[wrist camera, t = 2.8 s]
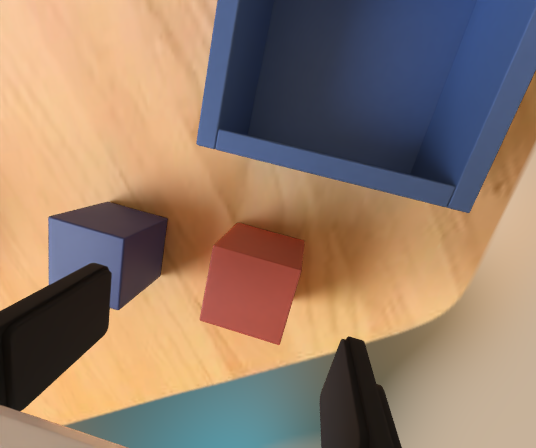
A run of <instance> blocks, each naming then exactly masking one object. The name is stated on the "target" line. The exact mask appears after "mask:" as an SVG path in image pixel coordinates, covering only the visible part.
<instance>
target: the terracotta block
mask: <svg viewBox="0 0 536 448" xmlns="http://www.w3.org/2000/svg"><path fill="white" fill-rule="evenodd" d="M304 242H305V241H303V240H300V239H296V238H292V237H289V236H285V235H281V234H278V233H274V232H270V231H267V230H263V229H260V228H256V227H252V226H249V225H245V224H241V223H236V224H235V225H234V226H233V227H232V228H231V229H230V230H229V231H228V232H227V233H226V234H225V235H224V236H223V237H222V238H221V239H220V240H219V241H218V242H216V243H215V244H214V245H213V250H212V256H211V261H210V266H209V272H208V277H207V283H206V288H205V293H204V299H203V304H202V309H201V315H200V321H204V322H207V323H210V324H213V325H216V326H220V327H223V328H226V329H229V330H232V331H236V332H239V333H242V334H245V335H248V336H252V337H255V338H258V339H261V340H264V341H268V342H271V343H274V344H277V345H280V342H281V338H282V335H283V332H284V328H285V325H286V322H287V318H288V315H289V311H290V308H291V305H292V301H293V298H294V295H295V291H296V288H297V285H298V281H299V278H300V274H301V271H302V262H303V252H304Z"/></svg>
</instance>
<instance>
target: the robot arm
mask: <svg viewBox="0 0 536 448" xmlns="http://www.w3.org/2000/svg"><path fill="white" fill-rule="evenodd" d="M111 279H112V273H111V272H110V271H109V268H108V267H107V266H104V265H101V264H97V263H90V264H88V265H86V266H84V267H82V268H80V269H78V270H77V271H75V272H73V273H71V274H69V275H67V276H65V277H63V278H62V279H60V280H58V281H56V282H54V283H52V284H50V285H48V286H47V287H45V288H43V289H41V290H39V291H37V292H35V293H33V294H32V295H30V296H28V297H26V298H24V299H22V300H20V301H18V302H17V303H15V304H13V305H11V306H9V307H7V308H5V309H4V310H2V311H0V448H127V447H124V446H121V445H118V444H115V443H112V442H110V441H106V440H103V439H101V438H98V437H95V436H92V435H89V434H86V433H83V432H80V431H77V430H74V429H71V428H68V427H65V426H62V425H59V424H56V423H53V422H50V421H47V420H44V419H41V418H38V417H35V416H32V415H29V414H26V413H23V412H20V411H21V410H23V409H24V408H26V407H27V406H28V405H29V404H30V403H31V402H32V401H33V400H34V399H35V398H36V397H37V396H39V395H40V394H41V393H42V392H43V391H44V390H45V389H46V388H47V387H48V386H49V385H51V384H52V383H53V382H54V381H55V380H56V379H57V378H58V377H59V376H60V375H61V374H62V373H64V372H65V371H66V370H67V369H68V368H69V367H70V366H71V365H72V364H73V363H74V362H75V361H77V360H78V359H79V358H80V357H81V356H82V355H83V354H84V353H85V352H86V351H87V350H89V349H90V348H91V347H92V346H93V345H94V344H95V343H96V342H97V341H98V340H99V339H100V338H102V337H103V336H104V335H105V333H106V331H107V329H108V325H109V310H110V294H111ZM320 421H321V447H322V448H402V447H401V444H400V441H399V438H398V434H397V431H396V428H395V424H394V421H393V418H392V415H391V411H390V408H389V405H388V402H387V398H386V395H385V392H384V390H383V387H382V386H381V385H378V384H376V382H375V378H374V374H373V371H372V368H371V364H370V360H369V357H368V353H367V350H366V346H365V343H364V341H362V340H359V339H356V338H352V337H347V338H346V340H345V339H342V340H341V341H340V344H339V346H338V349H337V352H336V354H335V357H334V360H333V362H332V365H331V368H330V370H329V373H328V375H327V378H326V381H325V383H324V386H323V389H322V392H321V396H320Z"/></svg>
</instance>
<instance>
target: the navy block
mask: <svg viewBox="0 0 536 448" xmlns="http://www.w3.org/2000/svg"><path fill="white" fill-rule="evenodd" d="M48 220H49V285H50V284H52V283H54V282H56V281H58V280H60V279H62V278H63V277H65V276H67V275H69V274H71V273H73V272H75V271H77V270H78V269H80V268H82V267H84V266H86V265H88V264H90V263H97V264H101V265H104V266H107V267H108V268H109V271H110V272H111V273H112V279H111V294H110V308H113V309H116V310H120V309H121V308H122V307H123V306H124V305H126V304H127V303H128V302H129V301H130V300H132V299H133V298H134V297H135V296H137V295H138V294H139V293H140V292H141V291H143V290H144V289H145V288H146V287H148V286H149V285H150V284H151V283H152V282H154V281H155V280H156V279H157V278H158V277H160V274H161V266H162V258H163V251H164V243H165V235H166V227H167V220H168V219H167V218H164V217H161V216H157V215H154V214H150V213H146V212H143V211H139V210H136V209H132V208H129V207H125V206H121V205H118V204H114V203H111V202H105V203H101V204H97V205H93V206H89V207H85V208H81V209H77V210H73V211H69V212H65V213H61V214H57V215H53V216H49V218H48Z"/></svg>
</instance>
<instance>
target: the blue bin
mask: <svg viewBox="0 0 536 448" xmlns="http://www.w3.org/2000/svg"><path fill="white" fill-rule="evenodd" d="M535 71H536V0H218V1H217V8H216V15H215V22H214V28H213V35H212V42H211V49H210V55H209V62H208V69H207V76H206V82H205V89H204V96H203V103H202V109H201V116H200V123H199V129H198V136H197V145H200V146H204V147H208V148H212V149H217V150H220V151H224V152H228V153H232V154H235V155H239V156H243V157H247V158H251V159H255V160H259V161H263V162H267V163H271V164H275V165H279V166H283V167H287V168H291V169H295V170H299V171H303V172H307V173H311V174H315V175H319V176H323V177H327V178H331V179H335V180H339V181H343V182H347V183H351V184H355V185H359V186H363V187H367V188H371V189H375V190H379V191H383V192H387V193H391V194H395V195H399V196H403V197H407V198H411V199H415V200H419V201H423V202H427V203H431V204H435V205H439V206H443V207H447V208H450V209H454V210H458V211H462V212H466V213H469V212H470V211H471V209H472V206H473V204H474V202H475V200H476V198H477V196H478V194H479V191H480V189H481V187H482V185H483V183H484V181H485V178H486V176H487V174H488V172H489V170H490V168H491V166H492V163H493V161H494V159H495V157H496V155H497V153H498V151H499V148H500V146H501V144H502V142H503V140H504V138H505V135H506V133H507V131H508V129H509V127H510V125H511V123H512V120H513V118H514V116H515V114H516V112H517V110H518V108H519V105H520V103H521V101H522V99H523V97H524V95H525V92H526V90H527V88H528V86H529V84H530V82H531V80H532V77H533V75H534V73H535Z"/></svg>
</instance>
